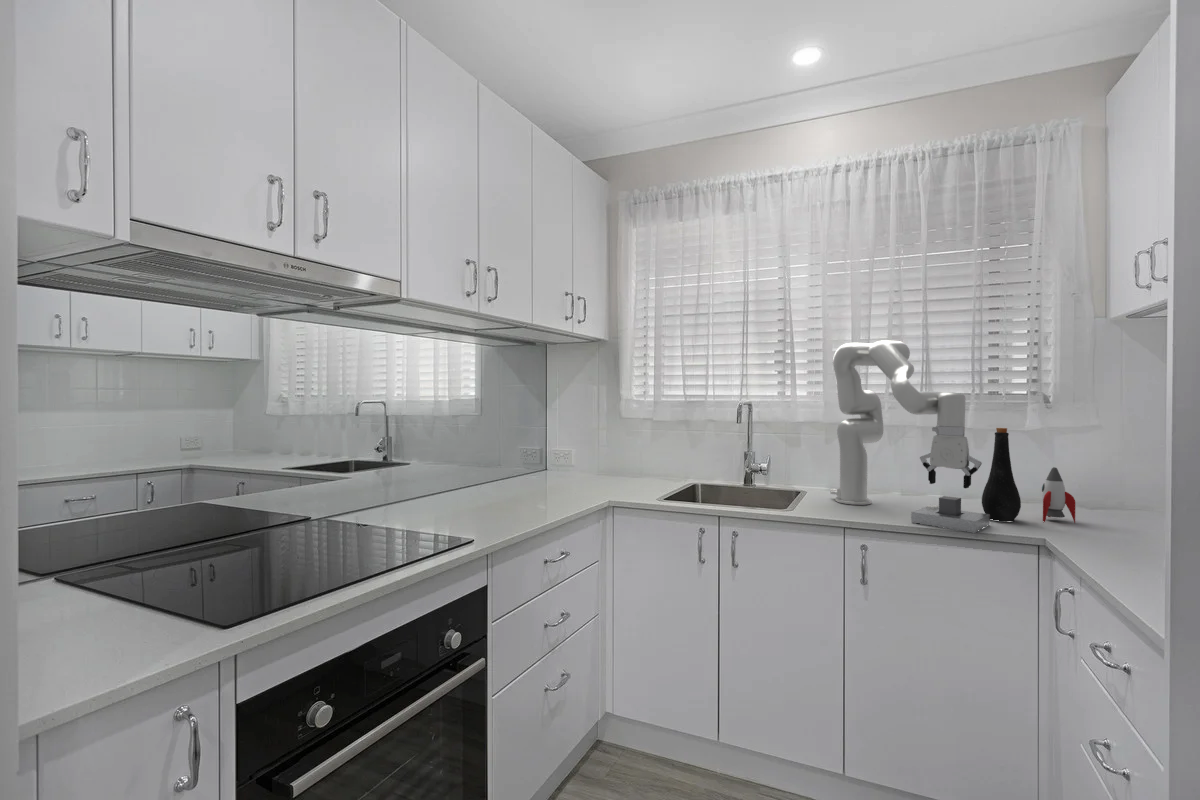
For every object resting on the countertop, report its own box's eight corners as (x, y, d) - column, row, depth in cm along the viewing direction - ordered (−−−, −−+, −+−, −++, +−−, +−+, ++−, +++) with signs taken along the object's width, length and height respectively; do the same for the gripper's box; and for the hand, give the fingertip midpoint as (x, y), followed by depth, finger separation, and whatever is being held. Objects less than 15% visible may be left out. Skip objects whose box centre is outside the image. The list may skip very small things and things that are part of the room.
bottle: (1020, 525, 185) (1021, 429, 184) (980, 520, 191) (980, 428, 191) (1021, 519, 193) (1022, 427, 193) (982, 514, 200) (983, 426, 199)
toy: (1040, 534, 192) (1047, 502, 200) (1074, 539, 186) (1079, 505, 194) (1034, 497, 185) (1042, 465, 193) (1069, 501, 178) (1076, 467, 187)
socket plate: (911, 522, 188) (911, 509, 188) (927, 516, 198) (927, 503, 198) (975, 532, 175) (975, 518, 175) (989, 525, 184) (989, 511, 184)
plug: (938, 523, 186) (938, 497, 186) (946, 519, 191) (946, 495, 191) (955, 525, 183) (955, 500, 183) (963, 522, 188) (963, 497, 188)
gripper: (916, 430, 190) (915, 483, 190) (978, 434, 177) (976, 491, 177) (925, 429, 195) (924, 480, 195) (985, 433, 182) (984, 488, 182)
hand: (949, 485), depth 186 cm, fingers open, 9 cm apart
